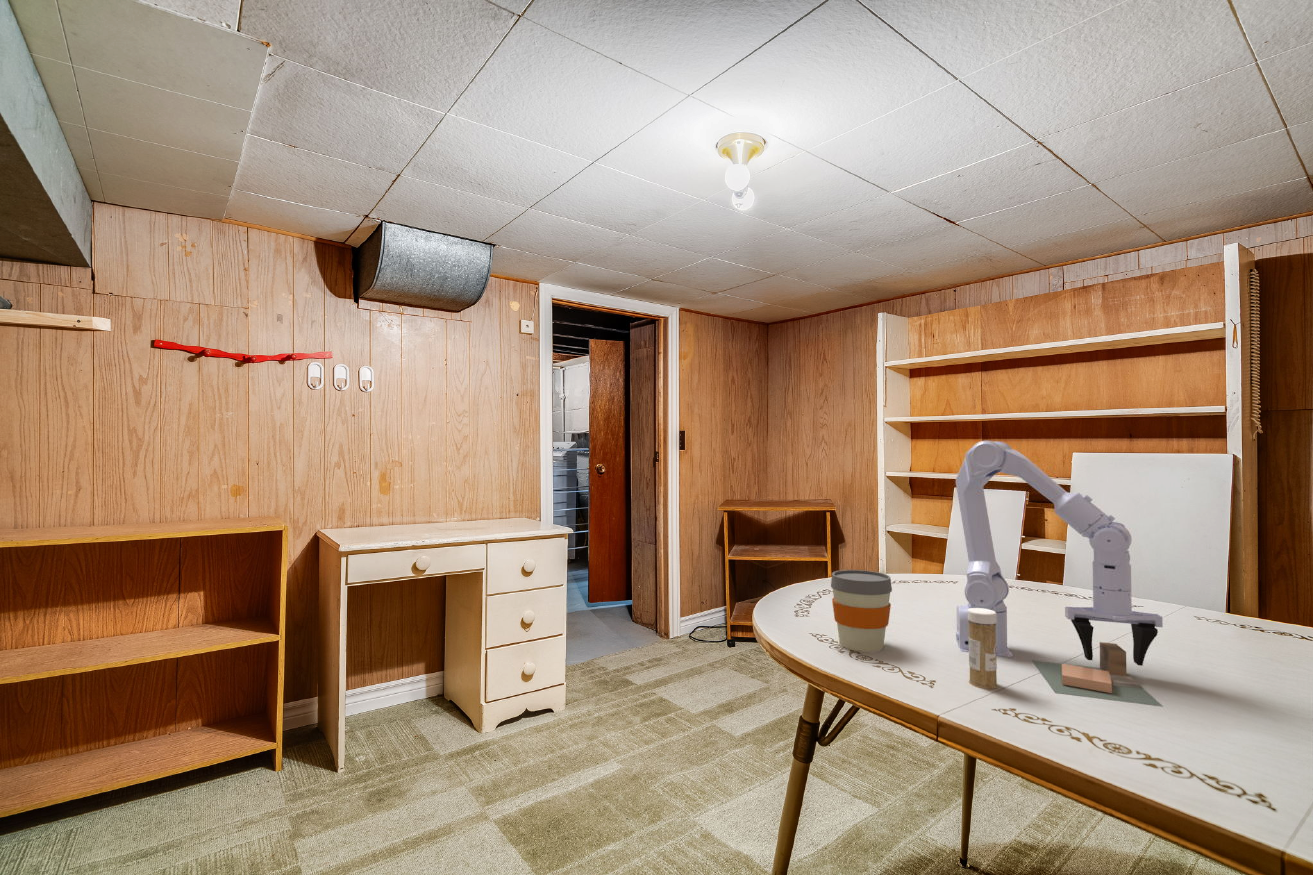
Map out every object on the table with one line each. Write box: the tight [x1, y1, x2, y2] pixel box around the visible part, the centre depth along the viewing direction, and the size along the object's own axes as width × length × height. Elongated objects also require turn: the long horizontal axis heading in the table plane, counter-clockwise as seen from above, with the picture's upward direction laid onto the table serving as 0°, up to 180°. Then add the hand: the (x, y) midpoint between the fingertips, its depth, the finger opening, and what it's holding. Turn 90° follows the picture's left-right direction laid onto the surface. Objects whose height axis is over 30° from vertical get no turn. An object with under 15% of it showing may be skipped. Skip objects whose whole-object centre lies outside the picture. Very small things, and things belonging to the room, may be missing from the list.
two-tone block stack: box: [1099, 641, 1141, 688], centre depth 109 cm, size 9×4×5 cm, turn 159°
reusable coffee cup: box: [830, 569, 893, 653], centre depth 128 cm, size 13×13×15 cm
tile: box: [1061, 663, 1112, 693], centre depth 106 cm, size 7×2×7 cm
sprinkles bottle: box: [968, 608, 998, 690], centre depth 106 cm, size 5×5×14 cm
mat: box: [1031, 660, 1164, 708], centre depth 107 cm, size 15×17×1 cm
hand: (1113, 661), depth 110 cm, fingers open, 7 cm apart
